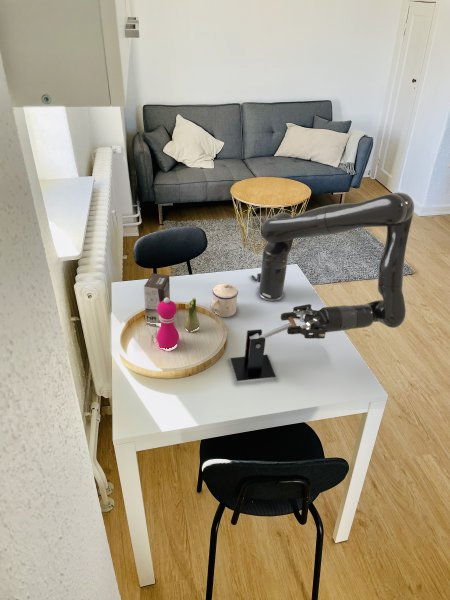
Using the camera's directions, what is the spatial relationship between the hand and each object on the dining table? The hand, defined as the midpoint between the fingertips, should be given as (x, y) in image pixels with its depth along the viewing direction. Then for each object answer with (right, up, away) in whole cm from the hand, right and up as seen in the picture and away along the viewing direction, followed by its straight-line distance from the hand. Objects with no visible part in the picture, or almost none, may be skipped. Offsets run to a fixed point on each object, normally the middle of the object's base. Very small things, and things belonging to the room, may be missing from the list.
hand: (284, 323), depth 133 cm
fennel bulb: (-29, -4, +24) cm, 37 cm away
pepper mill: (-36, -9, +16) cm, 40 cm away
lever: (-3, -3, +2) cm, 5 cm away
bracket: (-9, -15, +9) cm, 20 cm away
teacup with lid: (-19, +2, +33) cm, 38 cm away
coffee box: (-41, 0, +28) cm, 50 cm away
